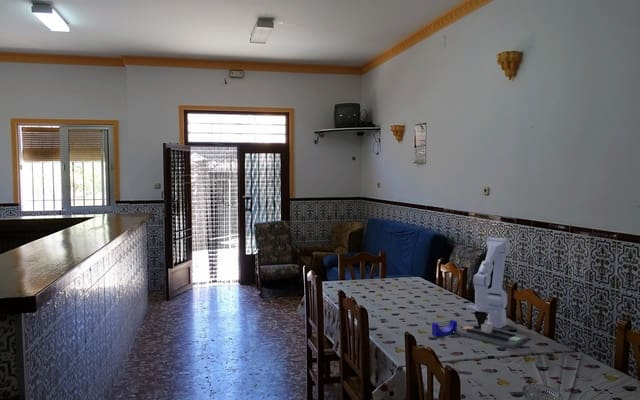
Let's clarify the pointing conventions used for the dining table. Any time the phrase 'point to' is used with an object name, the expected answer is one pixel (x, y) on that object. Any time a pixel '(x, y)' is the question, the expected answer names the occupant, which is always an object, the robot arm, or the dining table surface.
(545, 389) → the dining table surface
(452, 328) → the cable clip
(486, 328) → the switch handle
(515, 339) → the breaker panel
